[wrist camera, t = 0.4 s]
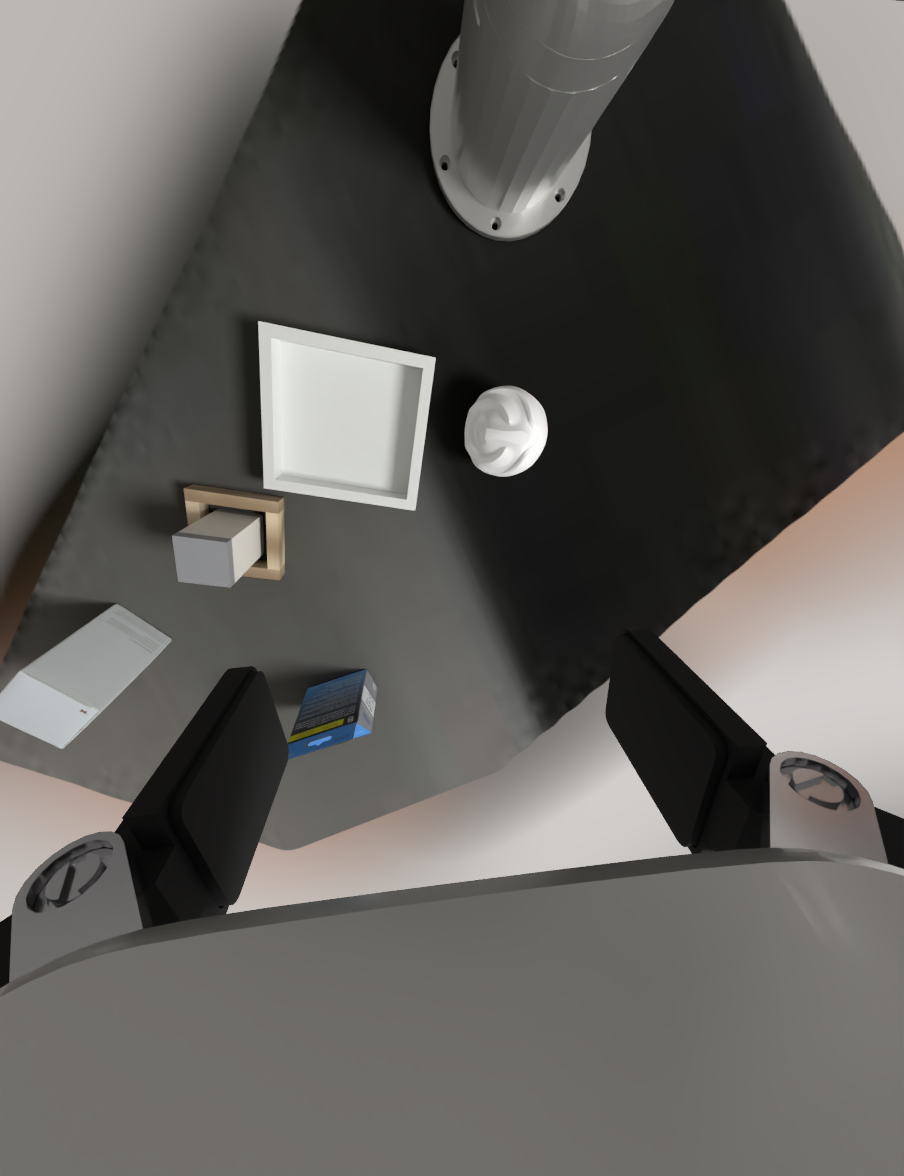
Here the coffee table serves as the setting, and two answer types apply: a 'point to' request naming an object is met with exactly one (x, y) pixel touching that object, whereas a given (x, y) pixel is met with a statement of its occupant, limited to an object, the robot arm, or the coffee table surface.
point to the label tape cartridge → (334, 714)
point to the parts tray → (342, 417)
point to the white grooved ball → (505, 431)
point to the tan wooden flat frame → (272, 505)
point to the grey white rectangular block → (218, 547)
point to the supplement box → (80, 676)
